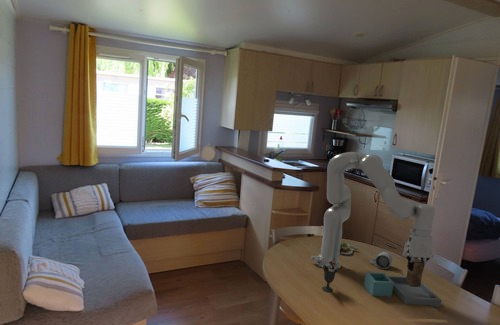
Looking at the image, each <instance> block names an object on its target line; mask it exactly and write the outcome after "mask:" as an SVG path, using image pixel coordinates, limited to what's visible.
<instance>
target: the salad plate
mask: <svg viewBox="0 0 500 325" xmlns="http://www.w3.org/2000/svg"><path fill="white" fill-rule="evenodd" d="M358 250H359V249H358V248H355V247H353V246H352V245H350V244H349V243H347V242H346V243H345V242H344V241H343V242H341V246H340V253H339V255H345V256H348V255H351V254H353V251H358Z"/></svg>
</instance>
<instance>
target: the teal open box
mask: <svg viewBox="0 0 500 325" xmlns="http://www.w3.org/2000/svg"><path fill="white" fill-rule="evenodd" d="M388 276H389V275H387V274H386V273H385V272H374V271H373V272H372V271H371V272H370V271H365V277H364V282H363V286H364V287H365V288H366V290H367V291H368V293H370V295H371V296H372V297H374V296H375V297H376V296H377V297H393V296H392V295H393V285H394V283H393V282H392V280H391V279H390V278H389V277H388Z"/></svg>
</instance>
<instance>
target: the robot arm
mask: <svg viewBox="0 0 500 325" xmlns="http://www.w3.org/2000/svg"><path fill="white" fill-rule="evenodd" d="M351 169H357V170H361V171H362V172H363V173H364V174H365V176H366V177H367V178H368V179H369V180H370V182H372V184H373V186H375V188H376V189H377V190H378V192H379V194H380V197H381V198H382V199H383V202H384V203H385V205H386V207H388V209H389V210H390V211H391V212H392V213H393V215H395V216H396V217H397V218H398V219H400V220H402V221H404V220H405V221H407V220H409V219H411V218H412V217H414V219H413V226H412V228H410V229H409V231H410V234H409V237H408V239H407V242H406V247H405V249H404V251H402V256H404V258H405V259H406V260H408V261H407V265H406V268H407V270H408V269H409V270H410V271H412V270H413V264H414V263H413V260H414V259H416V258H417V259H420V260H421V261H422V262H423V263H424V267H423V270H424V269H425V266H426V263H427V262H428V261H429V260H430V259H432V258H433V257H434V254H433V248H434V247H433V246H434V245H433V243H434V238H433V235H432V230H433V224H434V219H435V213H436V208H435V207H434V206H433V205H431V204H426V203H419V202H417V201H415V200H412V199H404V198H403V197H402V196H401V195H400V193H399V192H398V190H397V188H396V185H395V184H396V183H395V179H394V178H393V176H392V175H391V174H390V173H389V171H388V170H387V169H386V168H385V167H384V161H383V160H382V158H381V157H380V156H379V155H377V154H371V153H365V152H364V153H363V152H357V151H356V152H355V151H348V152H343V153H339V154H336V155H335V156H333V157H332V158H331V159H330V160H329V161H328V164H327V168H326V171H327V172H326V175H327V176H326V178H327V180H326V200H327V201H328V203H330V205H332V206H331V207H329V208H328V209H326V211H325V212H324V215H323V231H322V232H323V233H322V240H321V248H320V253H318V255H310V260H314V262H316V264H317V265H318V266H319V268H322V269H323V266H324V265H326V264H327V263H329V262H330V261H332V260H333V261H332V263H333V262H334V263H335V266H336V269H338V270H339V269H340V268H342V264H341V262H340V261H339V260H340V254H339V253H341V251H340V246H341V243H342V238H343V223H344V222H345V221H347V220H348V219H349V218H350V217H351V213H352V212H351V211H352V209H351V208H352V192H351V189H350V187H349V186H348V185H347V184H345V174H344V172H345V171H346V170H351ZM334 258H335V259H334Z"/></svg>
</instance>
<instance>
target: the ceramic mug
mask: <svg viewBox="0 0 500 325" xmlns="http://www.w3.org/2000/svg"><path fill="white" fill-rule="evenodd" d="M392 262H393V258H392V255H391V254H390V253H389V252H386V251H381V252H380V253H379V254H378V255H377V256H376V257H374V258H372V259H370V264H371V265H376V267H378V268H379V269H382V270H386V269H389V268H390V266H391V265H392Z"/></svg>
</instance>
